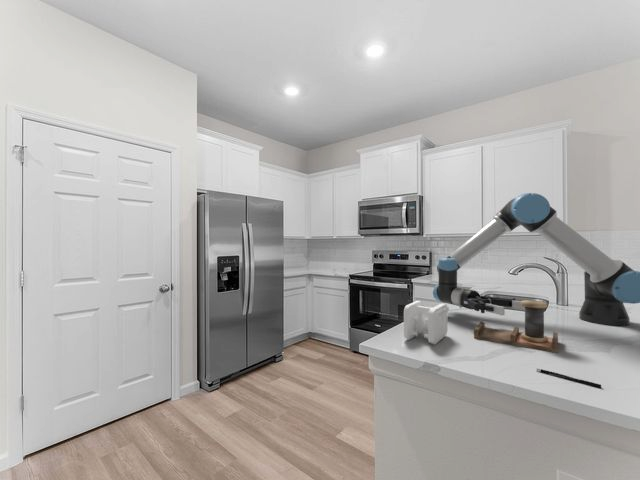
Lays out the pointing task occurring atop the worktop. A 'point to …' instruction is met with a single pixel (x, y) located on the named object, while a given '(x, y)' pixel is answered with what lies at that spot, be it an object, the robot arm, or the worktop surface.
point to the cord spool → (534, 321)
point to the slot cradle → (514, 338)
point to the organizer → (425, 321)
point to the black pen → (570, 378)
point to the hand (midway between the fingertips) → (517, 309)
